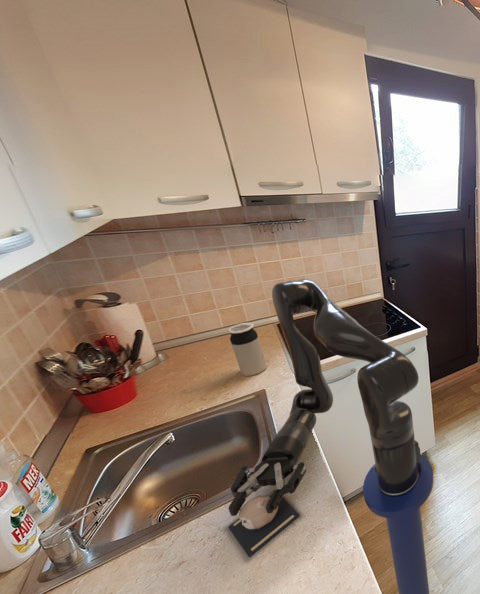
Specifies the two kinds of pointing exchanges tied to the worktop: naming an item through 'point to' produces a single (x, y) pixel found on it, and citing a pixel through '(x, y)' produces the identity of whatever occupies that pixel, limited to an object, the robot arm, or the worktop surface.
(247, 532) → the slate mat
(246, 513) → the tan rounded piece
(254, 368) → the travel mug
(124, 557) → the worktop surface
